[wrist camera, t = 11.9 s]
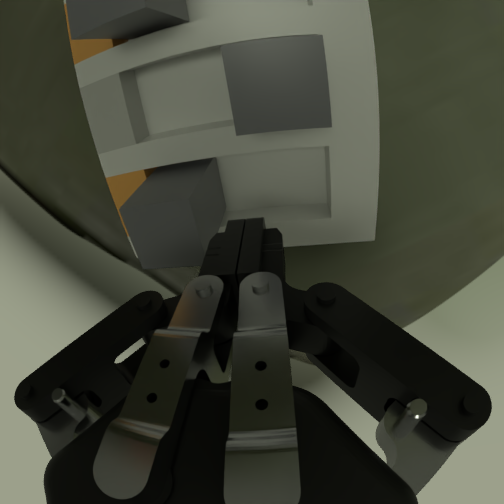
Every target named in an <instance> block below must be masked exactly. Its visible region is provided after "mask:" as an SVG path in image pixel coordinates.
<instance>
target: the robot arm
mask: <svg viewBox="0 0 504 504" xmlns="http://www.w3.org/2000/svg"><path fill="white" fill-rule="evenodd" d="M237 324H238V331H236V330H237ZM141 338H143V340H144V342H145V343H146V344H144V345H143V346H142V347H141V348H139V349H138V350H137V351H135V352H134V353H133V354H132V355H130V356H129V357H128V358H126V359H125V360H124V361H122V362H121V363H117V364H116V363H114V362H115V359H116V358H117V356H119V355H120V354H121V353H123V352H124V351H125V350H126V349H128V348H129V347H130V346H131V345H133V344H134V343H135V342H137V341H138V340H139V339H141ZM289 349H292V350H296V351H300V352H305V353H306V356H307V357H308V359H309V360H310V361H311V362H312V363H314V364H315V365H316V366H317V367H318V368H319V369H320V370H321V371H322V372H323V373H324V374H325V375H327V376H328V377H329V378H330V379H331V380H332V381H333V382H334V383H335V384H336V385H338V386H339V387H340V388H341V389H342V390H343V391H345V392H346V394H348V395H349V396H350V397H351V398H352V399H353V400H354V401H356V402H357V403H358V404H359V405H360V406H361V407H362V408H363V409H365V410H366V411H367V412H368V413H369V414H370V415H371V416H373V417H374V418H375V419H376V420H377V421H378V422H379V425H378V427H377V429H376V440H377V443H378V445H379V446H380V447H381V448H382V450H383V451H384V453H385V455H386V458H387V464H386V463H385V462H384V461H383V460H382V459H381V458H380V457H379V456H377V454H376V453H375V452H373V451H372V450H371V449H370V448H369V447H368V446H367V445H366V444H365V443H364V442H363V441H362V440H361V439H360V438H359V437H358V436H357V435H356V434H355V433H354V432H353V431H352V430H351V429H350V428H349V427H348V426H347V425H346V424H345V423H344V422H343V421H342V420H341V419H340V418H339V417H338V416H337V415H336V414H335V413H334V412H333V411H332V410H331V409H330V408H329V407H328V406H327V404H326V403H324V402H323V401H322V400H321V399H320V398H318V397H317V396H316V395H314V394H312V393H311V392H309V391H307V390H304V389H302V388H299V387H296V386H292V376H291V366H290V356H289ZM231 365H232V374H231V381H228V380H229V374H230V369H231ZM14 400H15V404H16V406H17V407H18V408H19V409H21V410H22V411H23V412H24V413H25V414H27V415H28V416H29V417H30V418H31V419H32V420H33V421H34V422H36V424H37V425H38V428H39V431H40V433H41V435H42V438H43V440H44V442H45V444H46V446H47V449H48V451H49V453H50V455H51V457H52V459H51V460H50V461H49V463H48V465H47V467H46V471H45V474H44V489H45V494H46V500H47V504H418V501H417V498H416V495H417V494H418V493H419V492H420V491H421V489H422V488H423V487H424V486H425V485H426V484H427V483H428V482H429V481H430V479H431V478H432V477H433V476H434V475H435V474H436V472H437V471H438V470H439V469H440V468H441V466H442V465H443V464H444V463H445V461H446V460H447V459H448V457H449V456H450V455H451V454H452V452H453V451H454V450H455V448H456V447H457V446H458V445H459V444H460V443H462V442H463V441H464V440H466V439H467V438H468V437H469V436H471V435H472V434H473V433H474V432H476V431H477V430H478V429H479V428H480V427H481V426H483V425H484V424H485V423H486V421H487V420H488V418H489V416H490V413H491V409H492V405H491V399H490V396H489V394H488V393H487V391H486V390H485V389H484V388H483V387H482V386H480V385H479V384H478V383H476V382H475V381H473V380H472V379H471V378H470V377H468V376H467V375H466V374H464V373H463V372H461V371H460V370H459V369H457V368H456V367H455V366H453V365H452V364H450V363H449V362H448V361H446V360H445V359H444V358H442V357H441V356H439V355H438V354H436V353H435V352H434V351H432V350H431V349H430V348H428V347H427V346H426V345H424V344H423V343H421V342H420V341H418V340H417V339H416V338H414V337H413V336H411V335H410V334H409V333H407V332H406V331H404V330H403V329H402V328H400V327H399V326H397V325H396V324H394V323H393V322H392V321H390V320H389V319H387V318H386V317H385V316H383V315H382V314H380V313H379V312H377V311H376V310H374V309H373V308H372V307H370V306H369V305H367V304H366V303H364V302H363V301H362V300H360V299H359V298H357V297H356V296H354V295H353V294H351V293H350V292H348V291H347V290H346V289H344V288H343V287H341V286H339V285H337V284H334V283H328V282H324V283H318V284H315V285H313V286H311V287H310V288H309V289H308V290H307V291H302V290H298V289H295V288H292V287H291V286H289V285H288V284H287V283H286V282H285V257H284V247H283V237H282V234H281V232H280V231H279V230H278V228H268V229H266V226H265V219H264V217H258V218H247V219H236V220H228V222H227V225H226V229H225V232H221V233H216V234H215V235H214V236H213V237H212V238H211V240H210V241H209V244H208V247H207V250H206V254H205V257H204V260H203V263H202V266H201V269H200V273H199V276H198V277H197V278H195V279H193V280H192V281H190V282H189V283H188V284H187V285H186V287H185V289H184V292H183V294H182V295H179V296H176V297H172V298H169V299H165V300H163V298H162V296H161V294H160V293H158V292H156V291H145V292H142V293H140V294H138V295H136V296H134V297H133V298H132V299H131V300H129V301H128V302H126V303H125V304H123V305H122V306H121V307H119V308H118V309H116V310H115V311H114V312H112V313H111V314H110V315H108V316H107V317H106V318H104V319H103V320H102V321H100V322H99V323H97V324H96V325H95V326H94V327H92V328H91V329H89V330H88V331H87V332H85V333H84V334H83V335H81V336H80V337H79V338H77V339H76V340H75V341H73V342H72V343H71V344H69V345H68V346H67V347H65V348H64V349H63V350H61V351H60V352H59V353H57V354H56V355H55V356H53V357H52V358H51V359H50V360H48V361H47V362H46V363H44V364H43V365H42V366H40V367H39V368H38V369H37V370H35V371H34V372H33V373H31V374H30V375H29V376H28V377H26V378H25V379H24V380H23V381H22V382H21V383H20V384H19V385H18V387H17V389H16V391H15V396H14Z"/></svg>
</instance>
